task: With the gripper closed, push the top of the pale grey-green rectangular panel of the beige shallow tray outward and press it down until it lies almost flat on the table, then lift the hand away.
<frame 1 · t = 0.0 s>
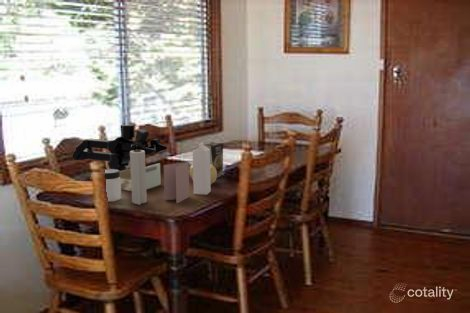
hand: (160, 149, 269), 17 cm above the table, tool horizontal, fingers open, 9 cm apart
beige shallow tray: (136, 186, 269), on the table
jar: (110, 199, 247), on the table
sculpture: (204, 184, 272), on the table
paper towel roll: (138, 203, 241), on the table
pale grey-green rectangular panel: (150, 177, 264), point 5 cm above the table, hinge at 0.0°
greeting card: (180, 200, 244), on the table
coffee box: (213, 177, 288), on the table
milk: (202, 193, 256), on the table
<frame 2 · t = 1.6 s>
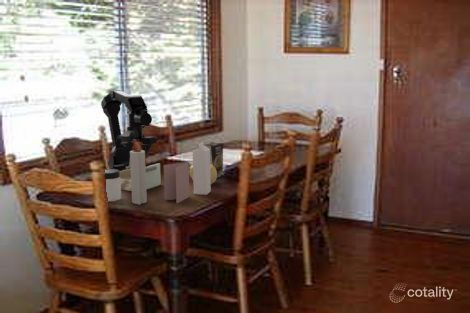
hand: (137, 158, 266), 13 cm above the table, tool pointing down, fingers open, 8 cm apart
nothing on the table moved.
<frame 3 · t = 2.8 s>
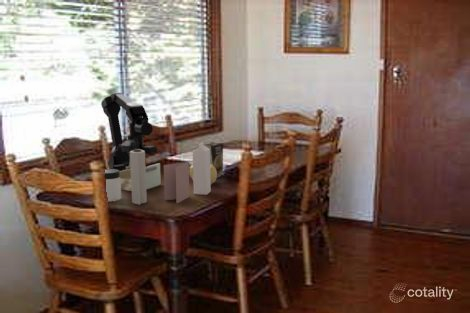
hand: (137, 167, 267), 9 cm above the table, tool pointing down, fingers closed
nothing on the table moved.
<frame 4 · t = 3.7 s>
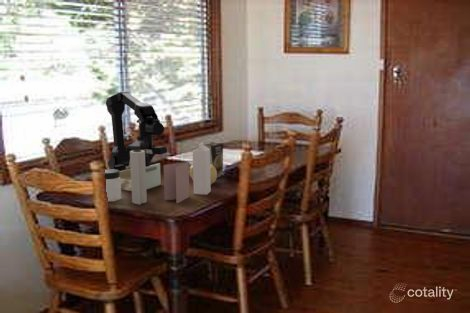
hand: (147, 168, 264), 9 cm above the table, tool pointing down, fingers closed
pale grey-green rectangular panel: (150, 177, 264), point 5 cm above the table, hinge at 0.1°, touching gripper
everything else where it was.
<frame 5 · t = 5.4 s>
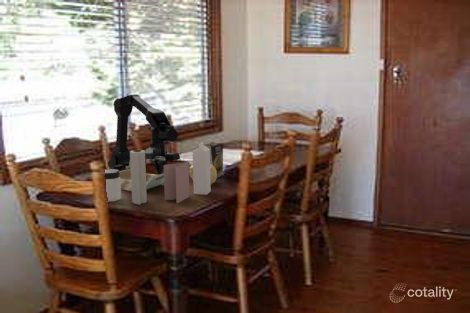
hand: (160, 175, 261), 7 cm above the table, tool pointing down, fingers closed
pale grey-green rectangular panel: (156, 181, 263), point 4 cm above the table, hinge at 47.5°, touching gripper
everything else where it was.
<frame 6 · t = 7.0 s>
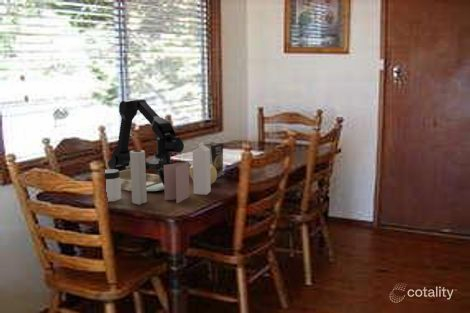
hand: (165, 185, 261), 2 cm above the table, tool pointing down, fingers closed
pale grey-green rectangular panel: (159, 187, 262), point 1 cm above the table, hinge at 81.3°, touching gripper
everything else where it was.
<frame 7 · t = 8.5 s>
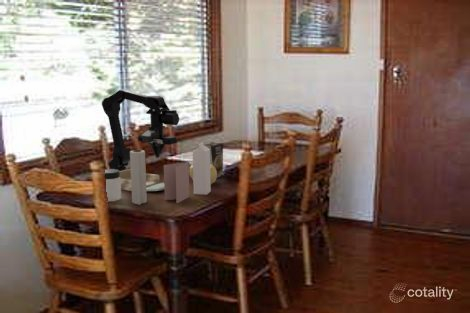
hand: (157, 157, 273), 12 cm above the table, tool pointing down, fingers closed
pale grey-green rectangular panel: (159, 187, 262), point 1 cm above the table, hinge at 81.3°
everything else where it was.
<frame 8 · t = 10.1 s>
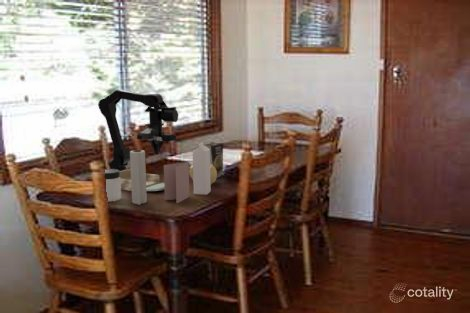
hand: (157, 154, 275), 13 cm above the table, tool pointing down, fingers closed
nothing on the table moved.
at the end: pale grey-green rectangular panel at +81° (first picture: +0°) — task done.
